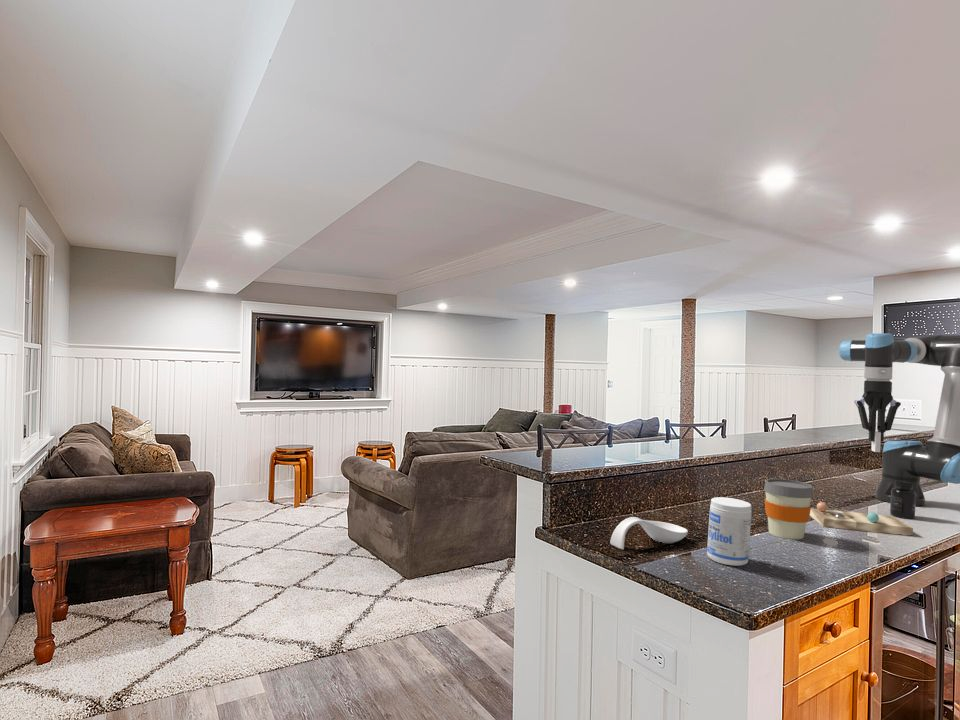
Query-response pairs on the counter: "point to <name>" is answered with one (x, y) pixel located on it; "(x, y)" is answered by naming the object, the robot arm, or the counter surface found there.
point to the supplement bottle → (903, 500)
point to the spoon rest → (648, 531)
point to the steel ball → (839, 515)
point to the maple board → (861, 522)
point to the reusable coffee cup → (787, 507)
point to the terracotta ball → (822, 506)
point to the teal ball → (872, 517)
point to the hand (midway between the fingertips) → (875, 451)
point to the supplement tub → (729, 531)
